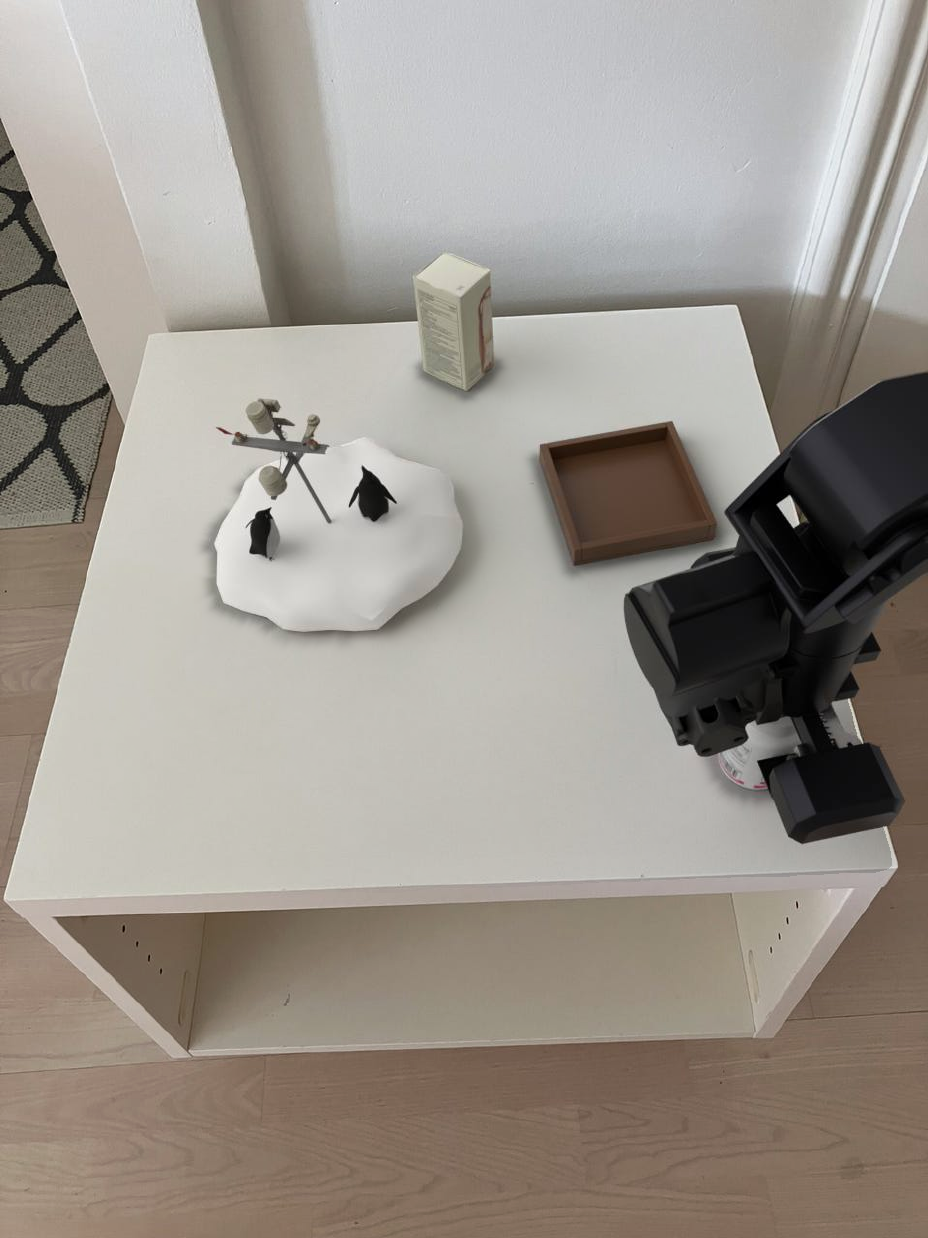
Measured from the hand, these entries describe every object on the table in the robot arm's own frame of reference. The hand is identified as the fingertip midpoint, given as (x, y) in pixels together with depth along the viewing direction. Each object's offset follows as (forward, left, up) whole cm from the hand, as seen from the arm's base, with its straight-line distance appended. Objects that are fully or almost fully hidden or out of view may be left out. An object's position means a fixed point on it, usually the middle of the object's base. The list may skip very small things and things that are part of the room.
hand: (758, 745), depth 67 cm
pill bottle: (0, 0, -2) cm, 2 cm away
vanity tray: (+2, -24, -2) cm, 24 cm away
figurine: (+25, -25, -2) cm, 35 cm away
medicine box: (+12, -42, -2) cm, 44 cm away
